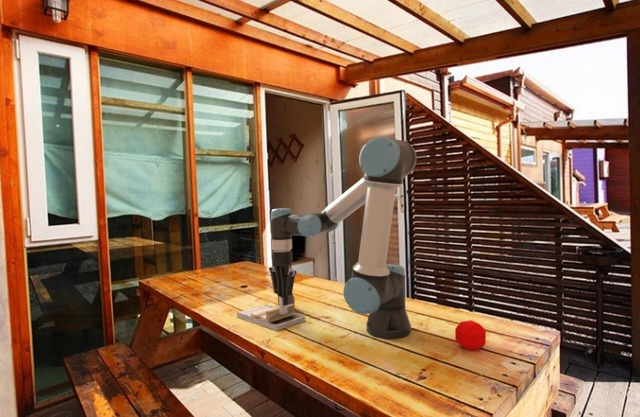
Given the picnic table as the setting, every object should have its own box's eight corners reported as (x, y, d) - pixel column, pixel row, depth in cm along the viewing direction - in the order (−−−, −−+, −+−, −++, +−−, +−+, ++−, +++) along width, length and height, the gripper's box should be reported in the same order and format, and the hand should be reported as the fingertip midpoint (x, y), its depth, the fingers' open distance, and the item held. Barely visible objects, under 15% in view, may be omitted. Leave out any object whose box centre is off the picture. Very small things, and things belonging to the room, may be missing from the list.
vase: (292, 312, 159) (291, 291, 159) (276, 311, 161) (275, 290, 160) (296, 307, 166) (296, 286, 166) (281, 306, 167) (280, 286, 167)
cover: (294, 314, 151) (294, 304, 151) (269, 322, 142) (268, 312, 142) (276, 308, 159) (275, 299, 159) (250, 316, 150) (250, 306, 150)
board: (304, 320, 149) (304, 315, 148) (276, 330, 138) (276, 325, 138) (264, 308, 165) (264, 304, 165) (236, 316, 155) (236, 312, 155)
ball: (490, 350, 117) (490, 325, 117) (467, 354, 115) (467, 328, 115) (473, 341, 125) (472, 317, 125) (451, 344, 123) (451, 320, 123)
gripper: (301, 250, 143) (302, 314, 144) (278, 247, 152) (279, 307, 153) (286, 253, 138) (287, 319, 139) (262, 249, 147) (264, 312, 148)
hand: (283, 313), depth 146 cm, fingers closed
